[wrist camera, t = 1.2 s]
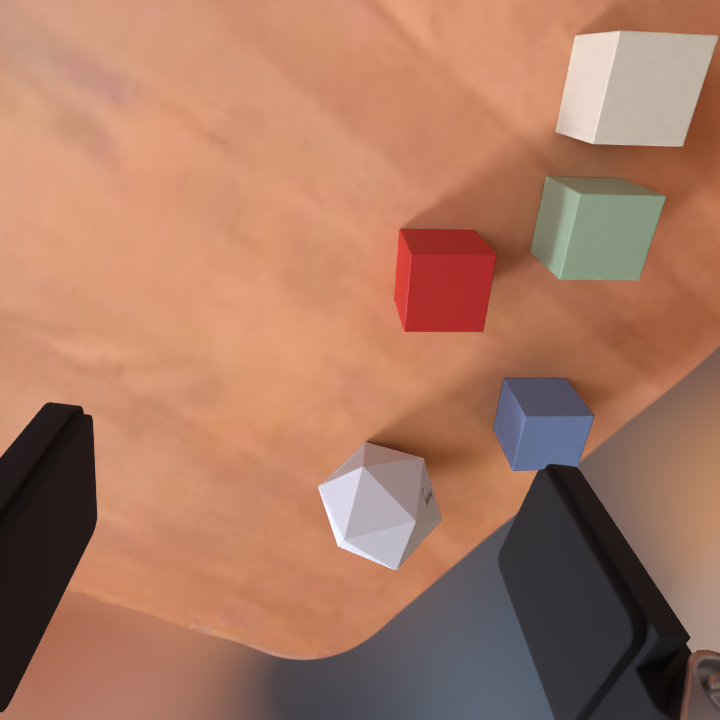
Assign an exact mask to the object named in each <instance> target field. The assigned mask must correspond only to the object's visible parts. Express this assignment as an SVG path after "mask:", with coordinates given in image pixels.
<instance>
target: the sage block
mask: <svg viewBox="0 0 720 720" xmlns="http://www.w3.org/2000/svg"><path fill="white" fill-rule="evenodd" d="M665 199H666V195H663V194H661V193H658V192H656V191H653V190H651V189H648V188H645V187H643V186H640V185H638V184H635V183H633V182H630V181H628V180H625V179H622V178H602V177H565V176H546V178H545V183H544V188H543V193H542V197H541V202H540V207H539V212H538V217H537V221H536V226H535V231H534V236H533V241H532V245H531V250H530V253H531V254H532V255H533V256H534V257H535V258H536V259H537V260H539V261H540V262H541V263H542V264H543V265H544V266H545V267H546V268H547V269H548V270H549V271H551V272H552V273H553V274H554V275H555V276H556V277H557V278H558V279H560V280H639V279H640V276H641V273H642V270H643V267H644V263H645V260H646V257H647V254H648V251H649V248H650V245H651V242H652V239H653V236H654V233H655V230H656V227H657V224H658V221H659V218H660V215H661V211H662V208H663V205H664V202H665Z"/></svg>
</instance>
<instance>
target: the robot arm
mask: <svg viewBox="0 0 720 720" xmlns="http://www.w3.org/2000/svg"><path fill="white" fill-rule="evenodd" d="M96 521H97V500H96V478H95V457H94V435H93V419H92V416H91V415H87V414H84V412H83V409H82V407H81V406H76V405H68V404H60V403H52V402H49V403H46V404H45V405H44V406H43V407H42V408H41V410H40V411H39V412H38V413H37V414H36V416H35V417H34V418H33V419H32V420H31V422H30V423H29V424H28V425H27V426H26V428H25V429H24V430H23V431H22V433H21V434H20V435H19V436H18V437H17V439H16V440H15V441H14V442H13V443H12V445H11V446H10V447H9V448H8V449H7V451H6V452H5V453H4V454H3V455H2V457H1V458H0V712H3V711H4V710H5V709H6V708H7V706H8V705H9V703H10V701H11V699H12V698H13V695H14V693H15V691H16V689H17V687H18V685H19V683H20V681H21V679H22V677H23V675H24V673H25V671H26V669H27V667H28V665H29V663H30V661H31V659H32V656H33V655H34V653H35V651H36V649H37V647H38V645H39V643H40V641H41V638H42V636H43V634H44V632H45V630H46V628H47V626H48V624H49V622H50V620H51V618H52V616H53V614H54V612H55V610H56V608H57V606H58V604H59V602H60V600H61V598H62V596H63V594H64V592H65V590H66V588H67V586H68V584H69V582H70V579H71V577H72V575H73V573H74V571H75V569H76V567H77V565H78V563H79V561H80V559H81V557H82V555H83V553H84V551H85V549H86V547H87V545H88V543H89V541H90V539H91V537H92V535H93V532H94V529H95V526H96ZM498 562H499V568H500V572H501V574H502V577H503V580H504V582H505V585H506V588H507V591H508V594H509V596H510V599H511V602H512V604H513V607H514V610H515V612H516V615H517V618H518V621H519V623H520V626H521V629H522V631H523V634H524V637H525V640H526V642H527V645H528V648H529V651H530V653H531V656H532V659H533V662H534V664H535V667H536V670H537V673H538V675H539V678H540V681H541V683H542V686H543V689H544V692H545V694H546V697H547V700H548V702H549V705H550V708H551V711H552V713H553V716H554V719H555V720H720V653H718V652H714V651H710V650H698V651H696V652H694V653H693V654H692V652H691V651H690V649H689V648H688V646H687V645H686V643H687V642H688V640H689V639H690V636H689V635H688V633H687V632H686V630H685V629H684V627H683V626H682V624H681V623H680V621H679V620H678V618H677V617H676V615H675V613H674V612H673V611H672V609H671V607H670V606H669V604H668V603H667V601H666V600H665V598H664V597H663V595H662V594H661V592H660V591H659V589H658V588H657V586H656V585H655V583H654V582H653V580H652V579H651V577H650V576H649V574H648V573H647V571H646V570H645V568H644V567H643V565H642V564H641V562H640V561H639V559H638V558H637V556H636V555H635V553H634V552H633V550H632V548H631V547H630V545H629V544H628V543H627V541H626V539H625V538H624V536H623V535H622V533H621V532H620V530H619V529H618V527H617V526H616V524H615V523H614V522H613V520H612V518H611V517H610V515H609V514H608V512H607V511H606V510H605V508H604V506H603V505H602V503H601V502H600V500H599V499H598V497H597V496H596V494H595V493H594V491H593V490H592V488H591V487H590V485H589V484H588V482H587V480H586V479H585V478H584V476H583V474H582V473H581V471H580V470H579V469H578V468H577V467H574V466H567V465H559V464H548V465H547V466H546V467H545V468H544V469H540V470H539V471H538V472H537V474H536V476H535V478H534V480H533V482H532V485H531V487H530V489H529V491H528V493H527V495H526V497H525V499H524V501H523V504H522V506H521V508H520V510H519V512H518V514H517V516H516V518H515V520H514V523H513V525H512V527H511V529H510V531H509V533H508V535H507V537H506V539H505V541H504V544H503V546H502V548H501V550H500V553H499V557H498Z"/></svg>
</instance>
